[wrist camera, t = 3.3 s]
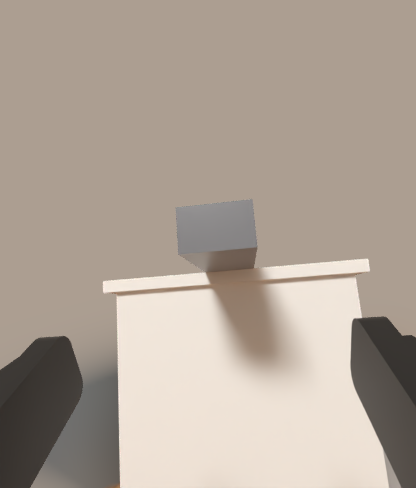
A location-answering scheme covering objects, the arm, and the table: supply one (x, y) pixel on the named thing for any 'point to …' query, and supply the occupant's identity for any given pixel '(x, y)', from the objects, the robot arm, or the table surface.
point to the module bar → (218, 235)
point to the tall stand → (243, 380)
